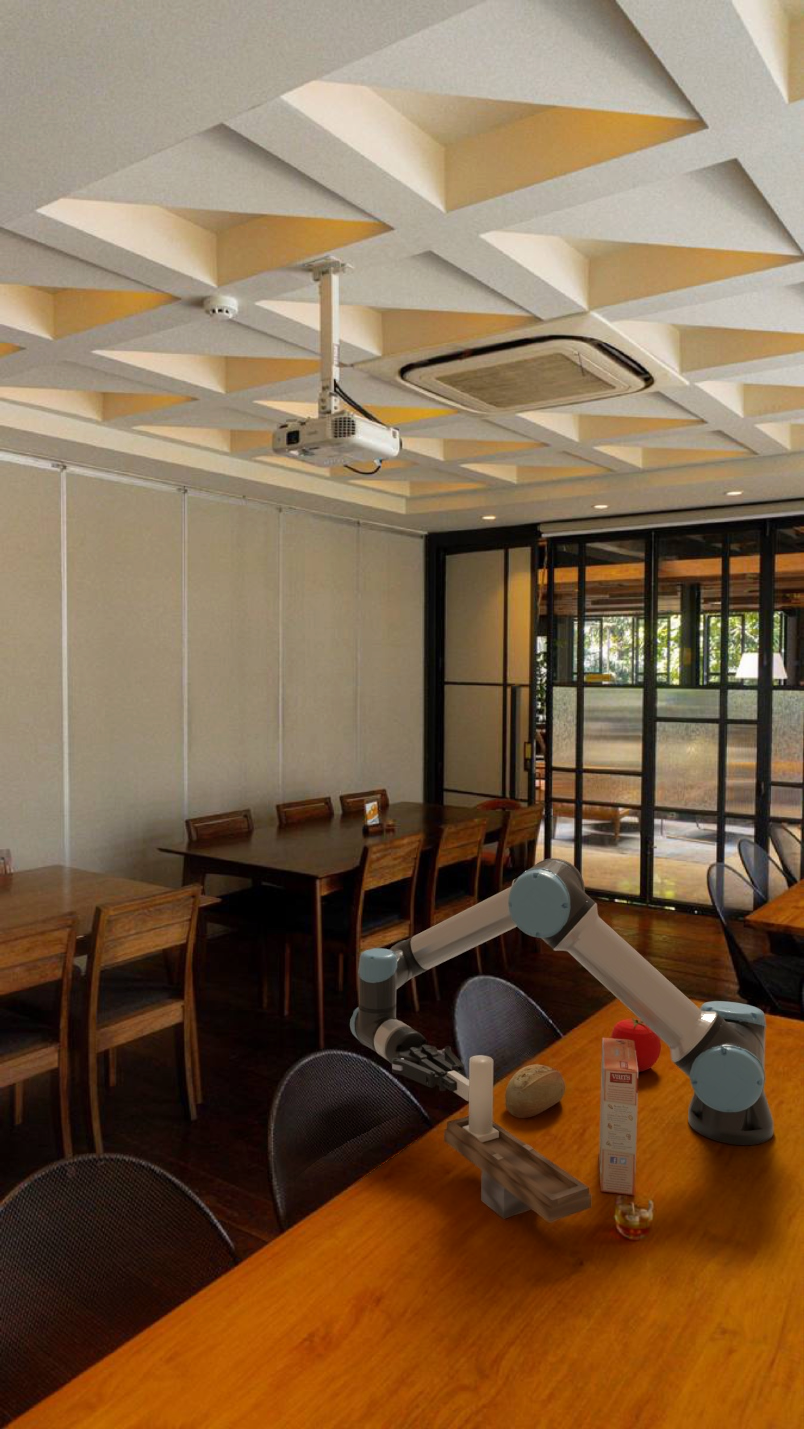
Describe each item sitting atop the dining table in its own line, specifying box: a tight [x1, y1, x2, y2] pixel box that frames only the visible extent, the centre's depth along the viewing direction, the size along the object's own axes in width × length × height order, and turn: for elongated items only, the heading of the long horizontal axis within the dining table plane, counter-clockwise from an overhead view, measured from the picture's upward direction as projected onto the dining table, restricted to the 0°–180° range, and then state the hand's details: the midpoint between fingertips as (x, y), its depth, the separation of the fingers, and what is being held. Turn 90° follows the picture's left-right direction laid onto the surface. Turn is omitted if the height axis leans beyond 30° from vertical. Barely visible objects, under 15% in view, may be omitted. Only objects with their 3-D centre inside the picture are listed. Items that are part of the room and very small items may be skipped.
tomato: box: [610, 1017, 662, 1073], centre depth 204 cm, size 10×11×11 cm
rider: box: [462, 1054, 499, 1142], centre depth 159 cm, size 4×4×13 cm
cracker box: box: [598, 1037, 639, 1196], centre depth 160 cm, size 14×6×21 cm, turn 169°
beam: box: [443, 1115, 592, 1224], centre depth 151 cm, size 28×8×8 cm, turn 31°
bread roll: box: [504, 1063, 566, 1119], centre depth 185 cm, size 10×15×8 cm, turn 138°
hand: (471, 1092), depth 161 cm, fingers closed
